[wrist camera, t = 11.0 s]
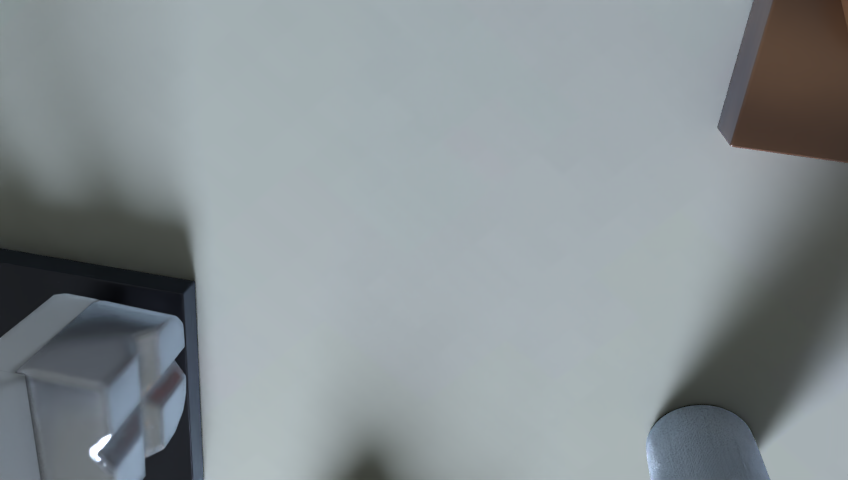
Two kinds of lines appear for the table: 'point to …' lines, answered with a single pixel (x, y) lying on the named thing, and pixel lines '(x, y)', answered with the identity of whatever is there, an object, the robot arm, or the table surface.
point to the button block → (791, 81)
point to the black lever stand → (46, 276)
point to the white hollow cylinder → (703, 446)
